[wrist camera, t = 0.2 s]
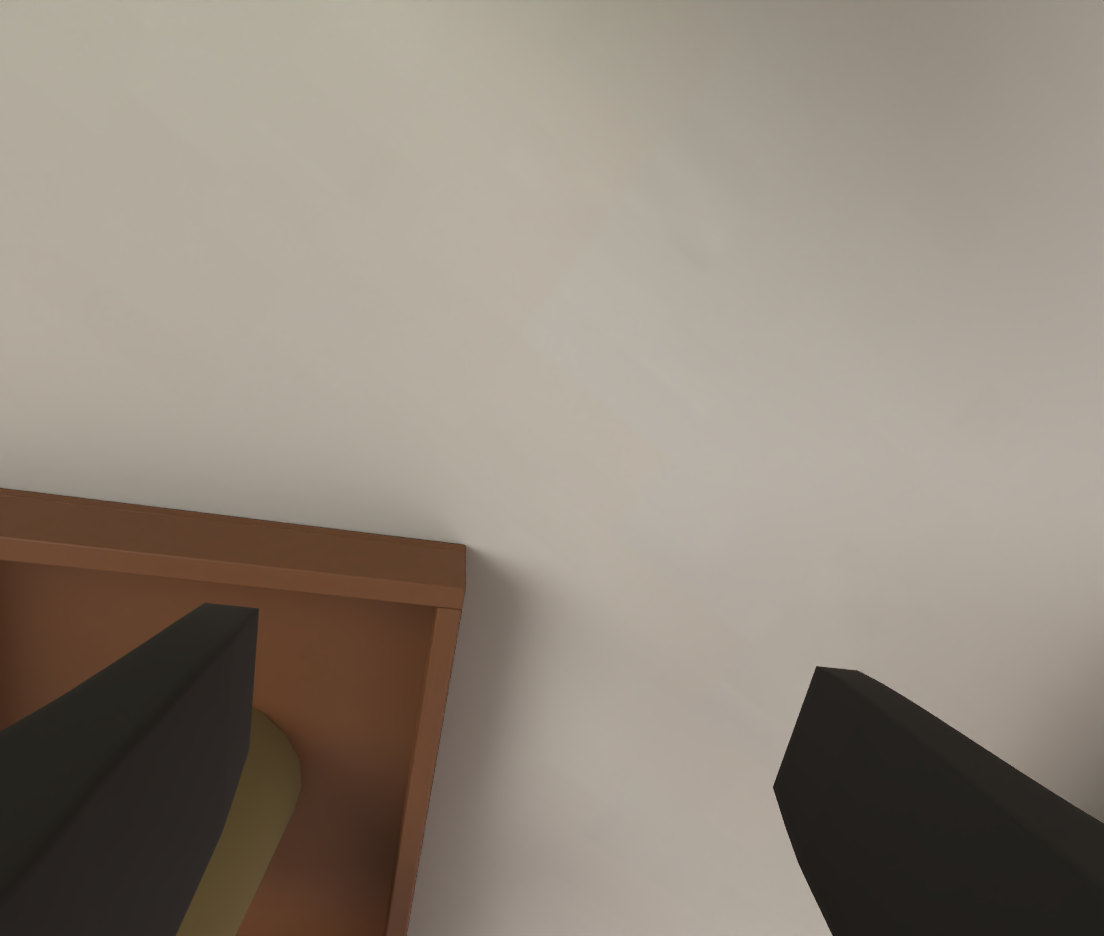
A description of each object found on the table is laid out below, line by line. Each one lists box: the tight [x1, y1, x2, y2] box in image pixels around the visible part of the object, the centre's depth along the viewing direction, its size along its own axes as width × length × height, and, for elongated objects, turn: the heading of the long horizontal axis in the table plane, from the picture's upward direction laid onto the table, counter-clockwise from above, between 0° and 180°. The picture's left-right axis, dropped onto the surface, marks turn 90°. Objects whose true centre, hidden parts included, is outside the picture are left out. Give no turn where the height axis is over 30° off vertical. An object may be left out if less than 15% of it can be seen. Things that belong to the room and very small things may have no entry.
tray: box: [0, 488, 466, 936], centre depth 20 cm, size 16×13×2 cm
